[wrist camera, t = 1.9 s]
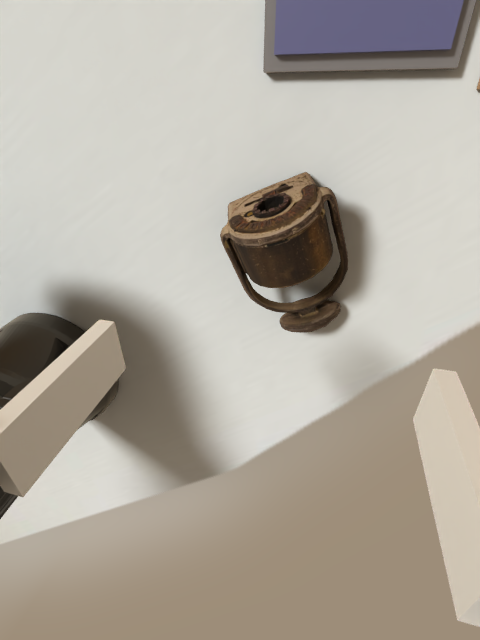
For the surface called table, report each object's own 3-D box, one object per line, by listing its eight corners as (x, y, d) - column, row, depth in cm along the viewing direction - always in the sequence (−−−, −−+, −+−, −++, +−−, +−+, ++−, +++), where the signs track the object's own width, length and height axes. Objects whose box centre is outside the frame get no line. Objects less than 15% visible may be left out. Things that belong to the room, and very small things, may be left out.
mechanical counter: (397, 183, 19) (216, 177, 19) (354, 372, 25) (217, 367, 25) (358, 172, 25) (223, 168, 25) (331, 324, 31) (222, 321, 31)
